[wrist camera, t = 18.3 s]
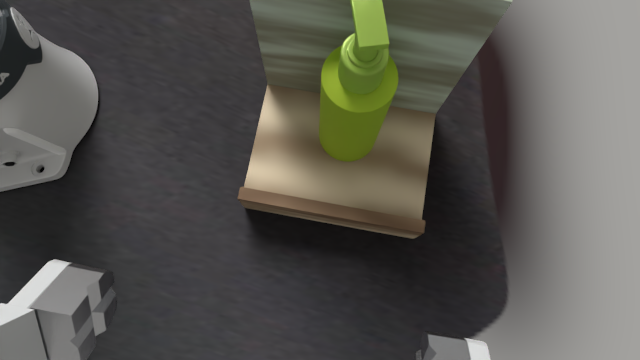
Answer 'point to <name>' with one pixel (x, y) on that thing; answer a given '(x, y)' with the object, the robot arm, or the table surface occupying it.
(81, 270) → the robot arm
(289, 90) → the wall board
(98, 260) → the table surface
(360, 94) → the soap dispenser
